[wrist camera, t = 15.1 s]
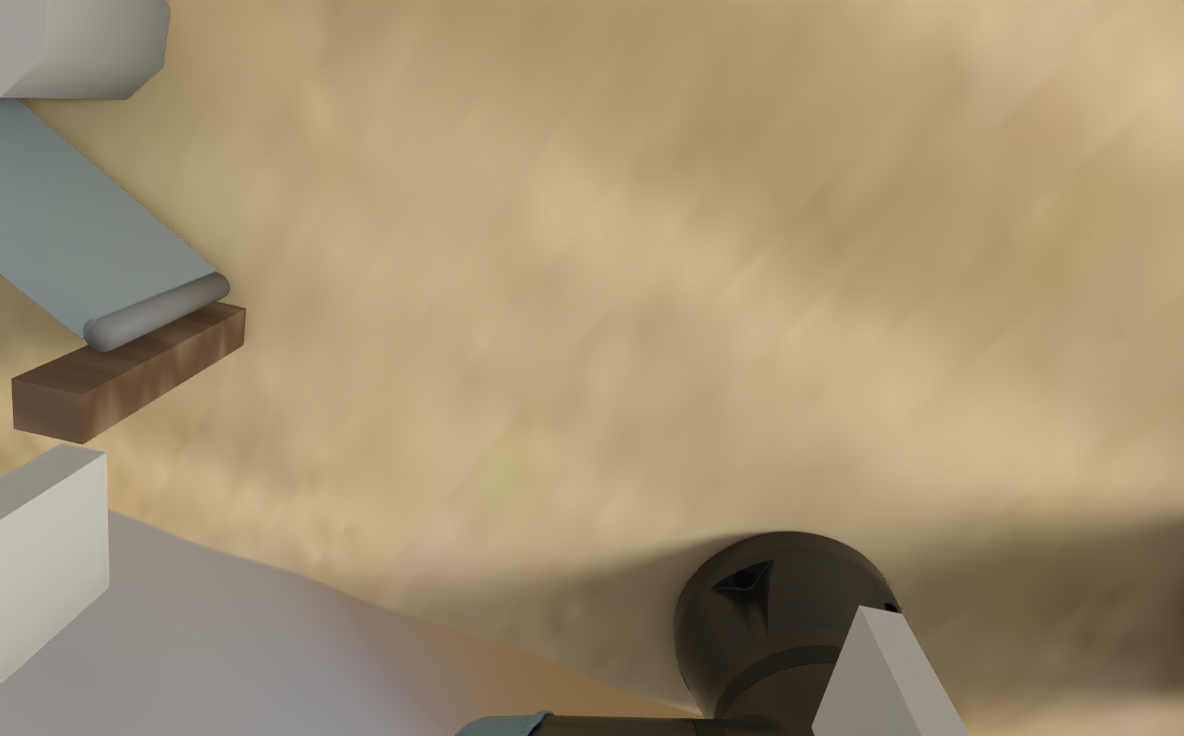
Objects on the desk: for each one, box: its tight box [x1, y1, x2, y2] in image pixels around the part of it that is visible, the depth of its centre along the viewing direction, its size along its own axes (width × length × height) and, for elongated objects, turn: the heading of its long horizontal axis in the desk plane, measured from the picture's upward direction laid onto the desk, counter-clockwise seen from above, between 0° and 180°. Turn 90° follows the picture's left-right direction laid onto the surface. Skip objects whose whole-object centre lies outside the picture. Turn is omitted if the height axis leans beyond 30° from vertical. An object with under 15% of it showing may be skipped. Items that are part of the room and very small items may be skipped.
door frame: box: [11, 302, 246, 444], centre depth 32 cm, size 36×3×14 cm, turn 167°
